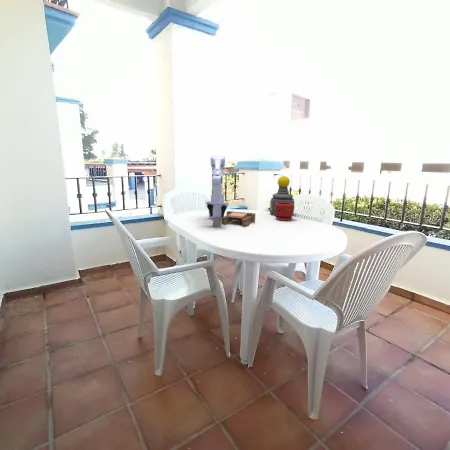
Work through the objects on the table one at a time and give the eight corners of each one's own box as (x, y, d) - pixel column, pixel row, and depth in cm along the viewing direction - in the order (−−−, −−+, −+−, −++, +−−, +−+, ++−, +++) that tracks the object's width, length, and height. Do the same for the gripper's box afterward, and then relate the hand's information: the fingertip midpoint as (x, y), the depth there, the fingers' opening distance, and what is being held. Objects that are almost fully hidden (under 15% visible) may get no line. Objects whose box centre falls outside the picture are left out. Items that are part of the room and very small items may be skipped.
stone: (212, 226, 175) (212, 217, 173) (215, 225, 178) (215, 216, 177) (218, 227, 173) (218, 218, 172) (221, 226, 177) (221, 216, 175)
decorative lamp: (275, 217, 205) (278, 176, 198) (265, 212, 223) (267, 175, 216) (298, 216, 210) (301, 176, 203) (286, 211, 228) (289, 175, 220)
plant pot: (295, 221, 192) (296, 204, 189) (276, 221, 192) (277, 204, 189) (291, 217, 204) (292, 201, 202) (273, 217, 205) (274, 201, 202)
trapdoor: (227, 216, 181) (227, 215, 181) (233, 214, 190) (233, 212, 190) (242, 218, 178) (242, 216, 177) (246, 215, 187) (246, 213, 186)
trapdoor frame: (219, 224, 182) (219, 215, 180) (228, 219, 196) (228, 211, 195) (248, 227, 175) (248, 217, 173) (255, 221, 189) (255, 213, 188)
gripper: (203, 195, 170) (203, 216, 173) (225, 196, 165) (225, 218, 168) (208, 194, 176) (208, 214, 179) (229, 195, 171) (229, 216, 174)
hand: (217, 216), depth 174 cm, fingers open, 7 cm apart
